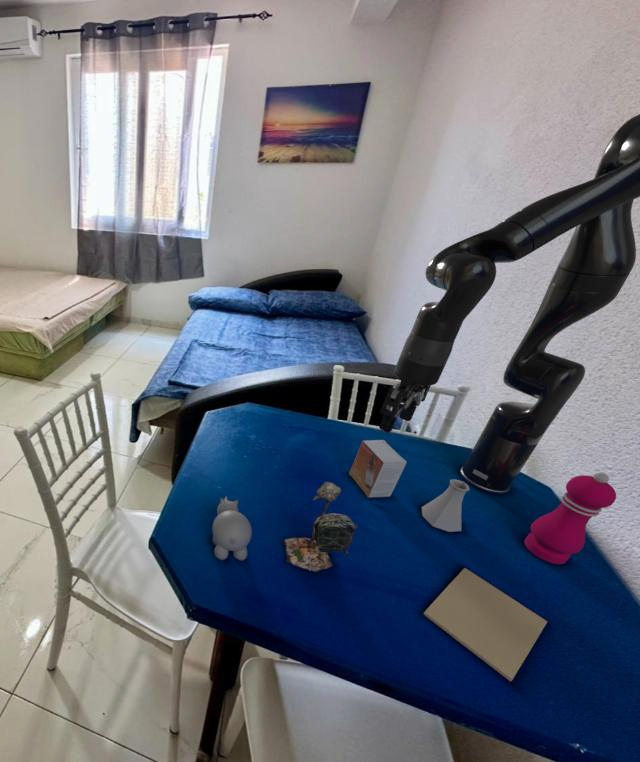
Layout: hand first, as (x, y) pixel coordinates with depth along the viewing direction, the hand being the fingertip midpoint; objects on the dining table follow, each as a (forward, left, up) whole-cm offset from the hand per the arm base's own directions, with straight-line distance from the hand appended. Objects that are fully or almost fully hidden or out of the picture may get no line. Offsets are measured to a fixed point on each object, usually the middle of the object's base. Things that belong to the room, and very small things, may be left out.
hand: (394, 424), depth 87 cm
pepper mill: (-12, +29, -18) cm, 36 cm away
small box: (0, 0, -18) cm, 18 cm away
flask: (-3, +14, -18) cm, 23 cm away
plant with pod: (+29, +5, -18) cm, 34 cm away
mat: (+15, +28, -18) cm, 36 cm away
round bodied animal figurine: (+40, -7, -18) cm, 44 cm away
